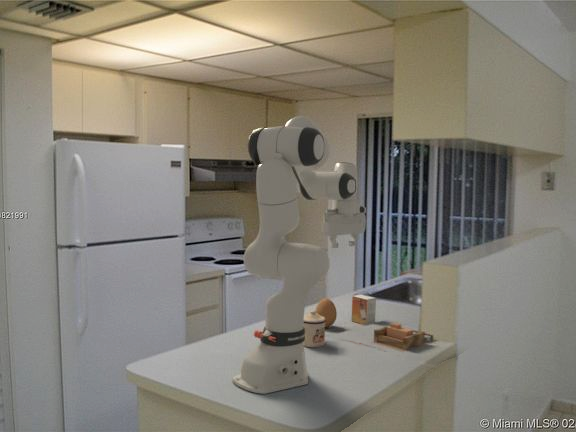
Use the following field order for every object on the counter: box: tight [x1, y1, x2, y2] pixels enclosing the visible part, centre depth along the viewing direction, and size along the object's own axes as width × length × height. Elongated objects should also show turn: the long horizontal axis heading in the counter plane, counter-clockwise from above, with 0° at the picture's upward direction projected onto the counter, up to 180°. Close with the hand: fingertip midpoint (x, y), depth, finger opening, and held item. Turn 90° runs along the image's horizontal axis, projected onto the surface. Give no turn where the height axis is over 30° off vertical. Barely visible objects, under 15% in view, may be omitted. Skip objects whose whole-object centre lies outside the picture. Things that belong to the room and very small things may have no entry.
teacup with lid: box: [303, 310, 326, 348], centre depth 191 cm, size 12×9×12 cm
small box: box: [351, 294, 377, 326], centre depth 220 cm, size 8×6×10 cm
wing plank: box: [413, 332, 432, 343], centre depth 196 cm, size 2×12×2 cm, turn 44°
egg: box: [315, 298, 338, 329], centre depth 212 cm, size 8×8×11 cm
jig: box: [372, 325, 436, 352], centre depth 192 cm, size 20×13×5 cm, turn 134°
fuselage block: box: [387, 322, 414, 341], centre depth 189 cm, size 4×8×6 cm, turn 44°
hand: (343, 246), depth 196 cm, fingers open, 8 cm apart
